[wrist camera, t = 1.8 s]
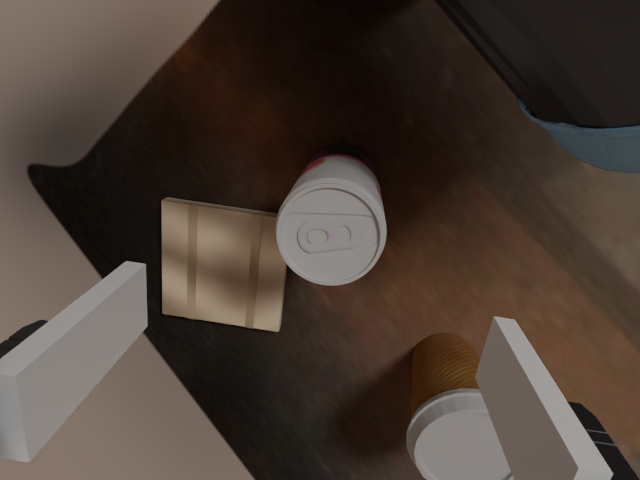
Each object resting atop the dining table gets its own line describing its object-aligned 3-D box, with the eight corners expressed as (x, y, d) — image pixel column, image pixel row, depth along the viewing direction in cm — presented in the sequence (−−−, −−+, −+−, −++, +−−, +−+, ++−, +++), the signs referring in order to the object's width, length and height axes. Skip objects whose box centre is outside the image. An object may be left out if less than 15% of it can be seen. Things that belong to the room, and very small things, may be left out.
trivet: (166, 197, 41) (161, 200, 40) (292, 215, 40) (290, 219, 39) (167, 307, 45) (161, 314, 44) (280, 325, 45) (278, 332, 43)
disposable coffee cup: (379, 373, 46) (385, 468, 34) (427, 303, 42) (451, 384, 31) (457, 410, 46) (487, 516, 35) (510, 345, 43) (563, 438, 32)
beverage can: (299, 148, 38) (263, 188, 24) (373, 137, 37) (381, 173, 23) (310, 218, 40) (283, 293, 26) (381, 210, 39) (392, 283, 25)
